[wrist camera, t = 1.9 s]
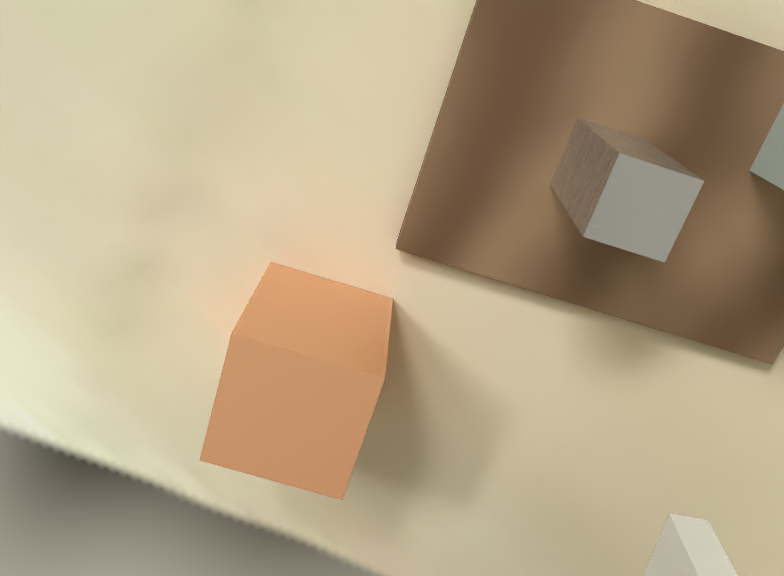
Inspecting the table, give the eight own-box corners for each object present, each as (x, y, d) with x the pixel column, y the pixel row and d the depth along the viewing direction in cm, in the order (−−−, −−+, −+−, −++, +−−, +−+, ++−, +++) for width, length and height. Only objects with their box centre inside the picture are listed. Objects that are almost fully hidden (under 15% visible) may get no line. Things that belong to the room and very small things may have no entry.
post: (549, 184, 28) (582, 236, 22) (577, 116, 27) (619, 153, 21) (614, 205, 28) (664, 262, 22) (644, 139, 27) (704, 181, 21)
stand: (396, 242, 29) (395, 248, 29) (492, -47, 25) (494, -48, 25) (763, 355, 31) (772, 364, 30) (911, 97, 27) (925, 100, 26)
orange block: (242, 369, 32) (199, 460, 26) (270, 262, 30) (231, 332, 24) (357, 402, 32) (342, 500, 26) (392, 299, 30) (385, 377, 24)
